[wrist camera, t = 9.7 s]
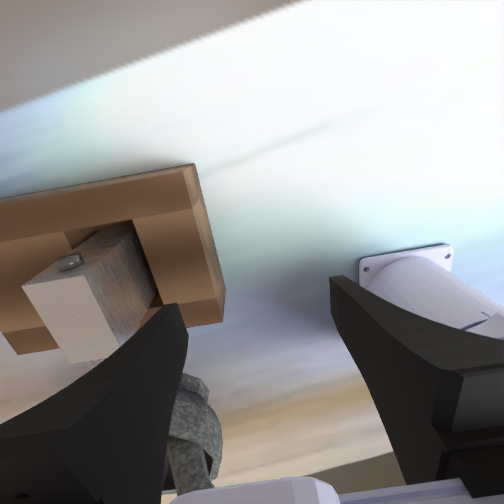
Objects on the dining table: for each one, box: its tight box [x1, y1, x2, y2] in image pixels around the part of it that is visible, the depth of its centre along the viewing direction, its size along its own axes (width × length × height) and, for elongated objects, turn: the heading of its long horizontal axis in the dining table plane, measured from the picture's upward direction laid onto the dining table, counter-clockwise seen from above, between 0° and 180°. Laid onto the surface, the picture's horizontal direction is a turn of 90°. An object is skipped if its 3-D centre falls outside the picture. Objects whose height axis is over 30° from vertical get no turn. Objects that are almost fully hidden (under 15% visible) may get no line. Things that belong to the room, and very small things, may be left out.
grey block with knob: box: [21, 223, 158, 364], centre depth 17 cm, size 6×3×8 cm, turn 9°
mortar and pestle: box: [161, 374, 223, 496], centre depth 24 cm, size 11×9×12 cm
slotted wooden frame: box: [0, 164, 226, 355], centre depth 20 cm, size 11×16×4 cm
